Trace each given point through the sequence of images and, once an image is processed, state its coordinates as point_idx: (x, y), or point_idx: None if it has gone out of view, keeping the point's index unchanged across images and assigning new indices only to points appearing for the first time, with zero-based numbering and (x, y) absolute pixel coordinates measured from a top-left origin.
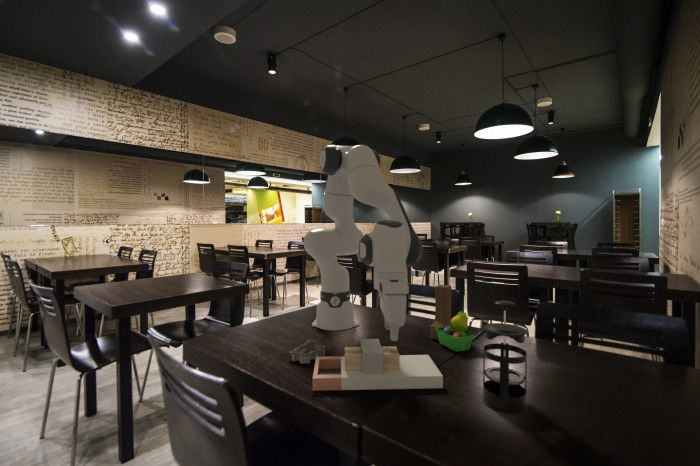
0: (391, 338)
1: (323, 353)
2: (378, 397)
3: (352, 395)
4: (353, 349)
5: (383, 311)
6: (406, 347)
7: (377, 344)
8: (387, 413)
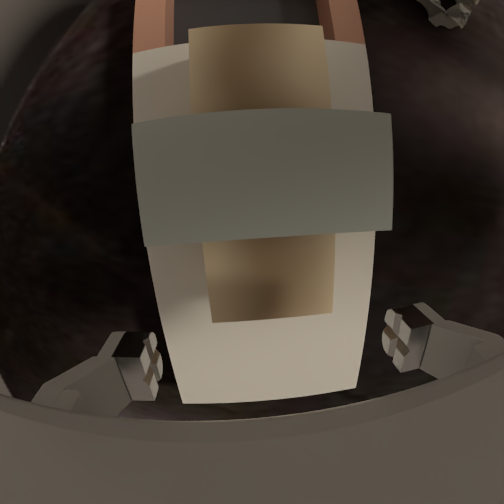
0: (110, 339)
1: (434, 18)
2: (103, 193)
3: (111, 108)
4: (285, 67)
5: (390, 433)
6: (473, 309)
7: (289, 216)
8: (36, 220)
